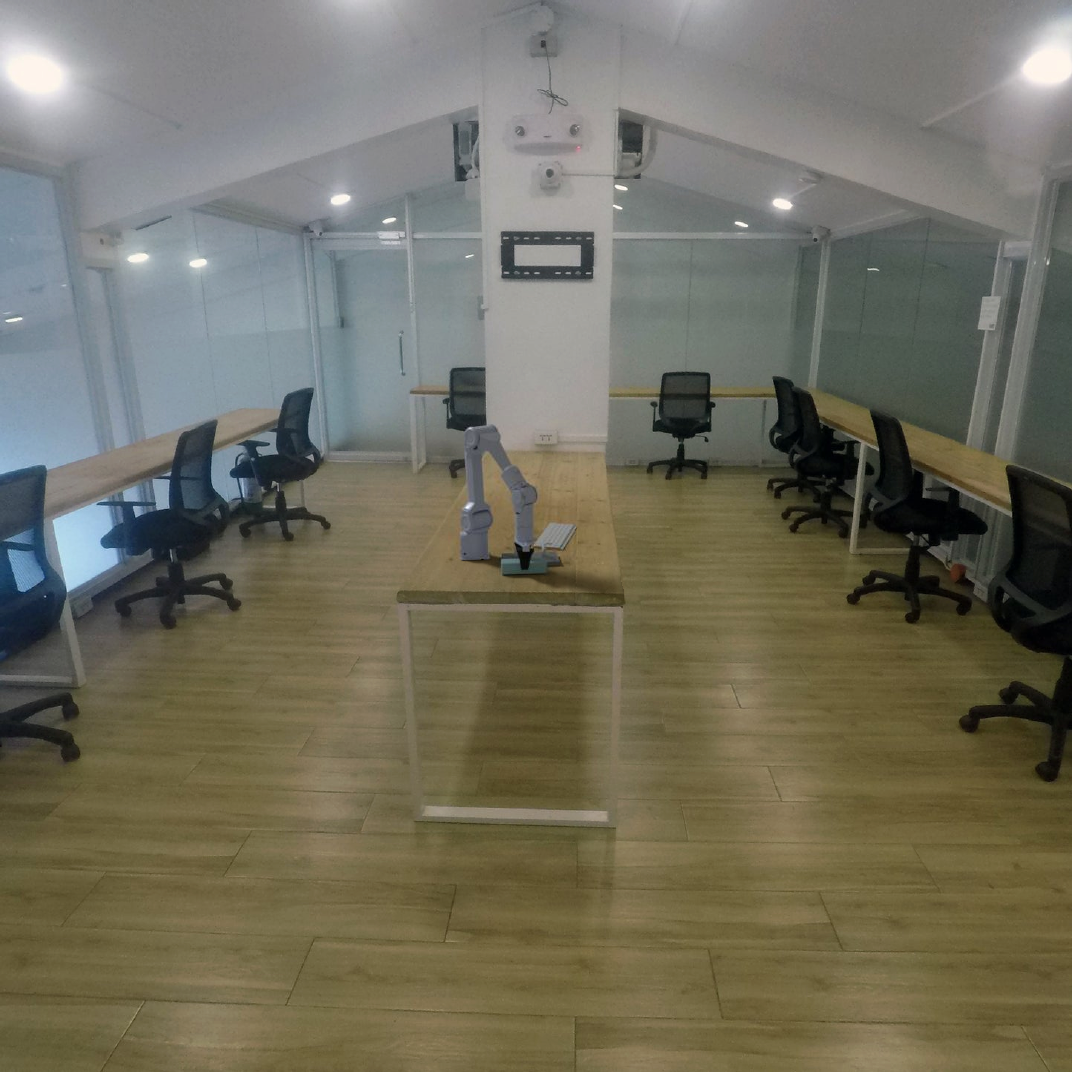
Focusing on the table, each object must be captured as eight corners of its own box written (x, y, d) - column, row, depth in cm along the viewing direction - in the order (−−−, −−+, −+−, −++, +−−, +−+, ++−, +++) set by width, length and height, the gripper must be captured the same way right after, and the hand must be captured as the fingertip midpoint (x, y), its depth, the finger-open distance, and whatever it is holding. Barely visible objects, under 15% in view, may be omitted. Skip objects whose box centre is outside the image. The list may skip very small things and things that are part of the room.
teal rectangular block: (502, 574, 232) (501, 563, 231) (501, 569, 237) (501, 559, 236) (546, 573, 234) (547, 562, 233) (545, 568, 238) (545, 557, 237)
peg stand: (503, 567, 240) (503, 550, 238) (501, 557, 250) (501, 541, 248) (559, 565, 242) (559, 549, 240) (555, 556, 251) (555, 540, 250)
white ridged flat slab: (581, 528, 286) (550, 526, 289) (581, 521, 286) (550, 519, 288) (567, 552, 257) (532, 549, 260) (567, 544, 257) (532, 541, 259)
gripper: (539, 531, 224) (539, 574, 228) (534, 518, 238) (534, 559, 242) (516, 531, 224) (516, 574, 228) (512, 519, 238) (512, 559, 241)
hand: (523, 566), depth 235 cm, fingers closed on teal rectangular block, 4 cm apart
